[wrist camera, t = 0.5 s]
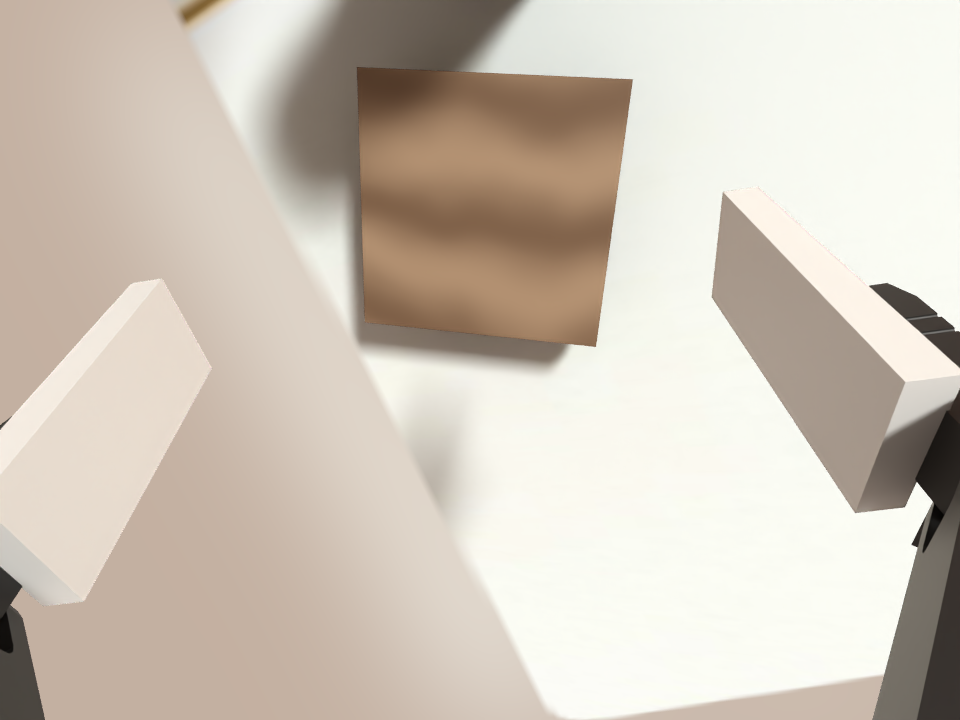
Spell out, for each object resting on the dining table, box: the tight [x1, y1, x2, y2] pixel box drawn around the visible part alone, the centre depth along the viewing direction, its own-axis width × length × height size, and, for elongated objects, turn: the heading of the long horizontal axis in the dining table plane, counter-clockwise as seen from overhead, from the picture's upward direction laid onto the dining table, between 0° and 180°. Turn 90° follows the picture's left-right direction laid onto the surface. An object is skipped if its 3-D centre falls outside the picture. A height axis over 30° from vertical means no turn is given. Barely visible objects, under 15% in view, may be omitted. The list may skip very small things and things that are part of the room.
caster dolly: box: [357, 67, 633, 347], centre depth 34 cm, size 14×14×5 cm
